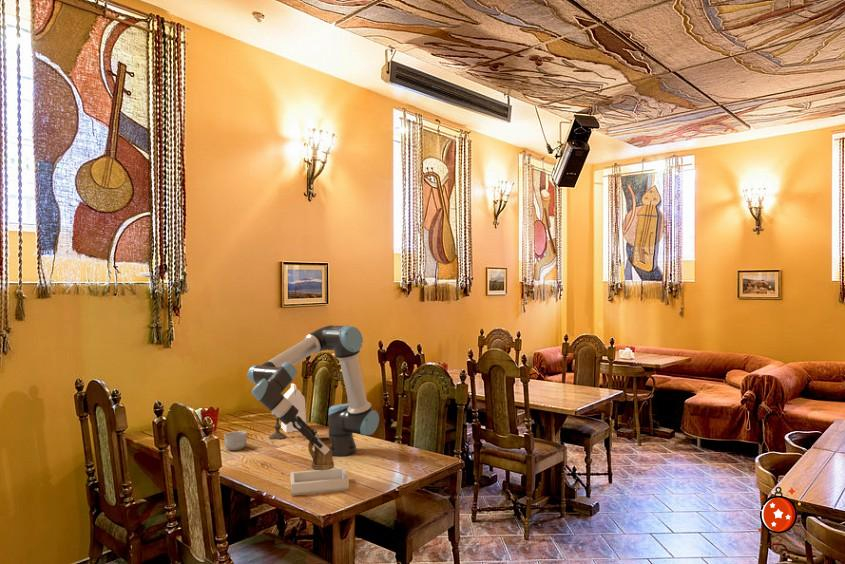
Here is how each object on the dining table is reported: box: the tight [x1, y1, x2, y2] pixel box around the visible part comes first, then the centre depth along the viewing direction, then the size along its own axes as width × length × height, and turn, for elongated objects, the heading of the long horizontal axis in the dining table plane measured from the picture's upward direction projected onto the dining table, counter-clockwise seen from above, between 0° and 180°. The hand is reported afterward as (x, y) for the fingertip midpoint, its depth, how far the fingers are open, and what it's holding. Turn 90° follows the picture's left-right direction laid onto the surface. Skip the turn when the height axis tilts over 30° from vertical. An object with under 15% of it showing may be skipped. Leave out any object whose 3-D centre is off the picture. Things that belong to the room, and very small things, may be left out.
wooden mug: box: [303, 425, 335, 470], centre depth 222 cm, size 9×14×18 cm, turn 130°
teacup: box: [223, 430, 247, 452], centre depth 282 cm, size 14×11×8 cm
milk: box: [280, 383, 307, 433], centre depth 321 cm, size 12×12×26 cm
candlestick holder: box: [268, 416, 287, 440], centre depth 303 cm, size 9×9×30 cm
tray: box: [289, 467, 350, 497], centre depth 223 cm, size 22×15×4 cm
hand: (326, 449), depth 224 cm, fingers closed on wooden mug, 7 cm apart
